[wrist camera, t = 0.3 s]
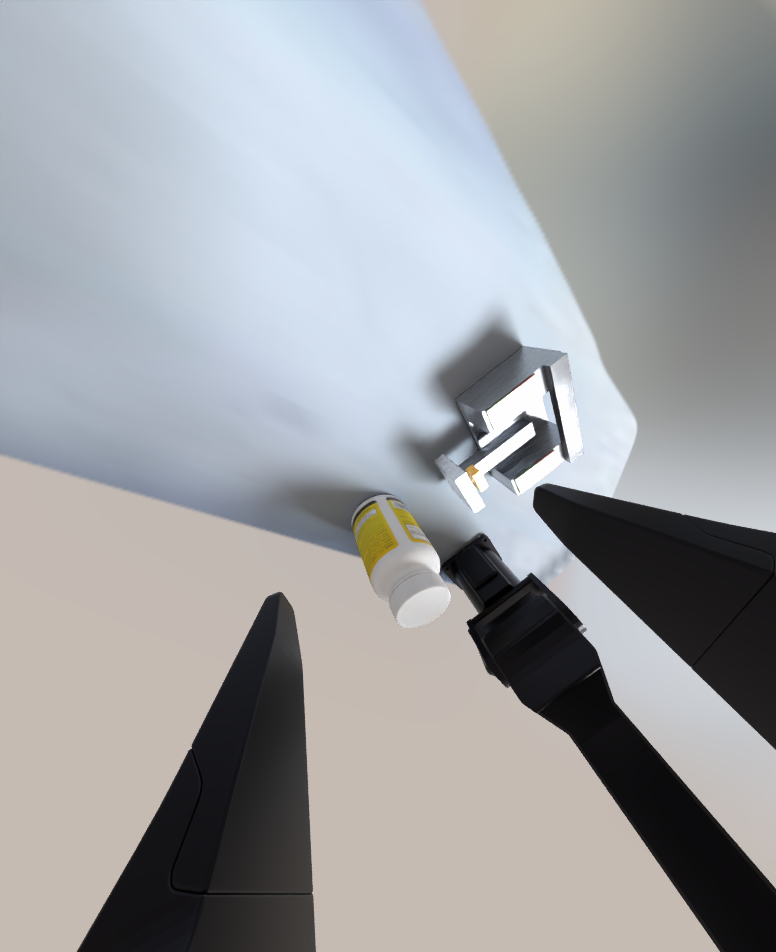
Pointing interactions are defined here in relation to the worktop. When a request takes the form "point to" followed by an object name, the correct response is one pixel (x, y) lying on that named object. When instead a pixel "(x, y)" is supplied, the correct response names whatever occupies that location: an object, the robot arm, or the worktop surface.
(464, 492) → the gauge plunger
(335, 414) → the worktop surface
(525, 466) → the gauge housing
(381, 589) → the supplement bottle
